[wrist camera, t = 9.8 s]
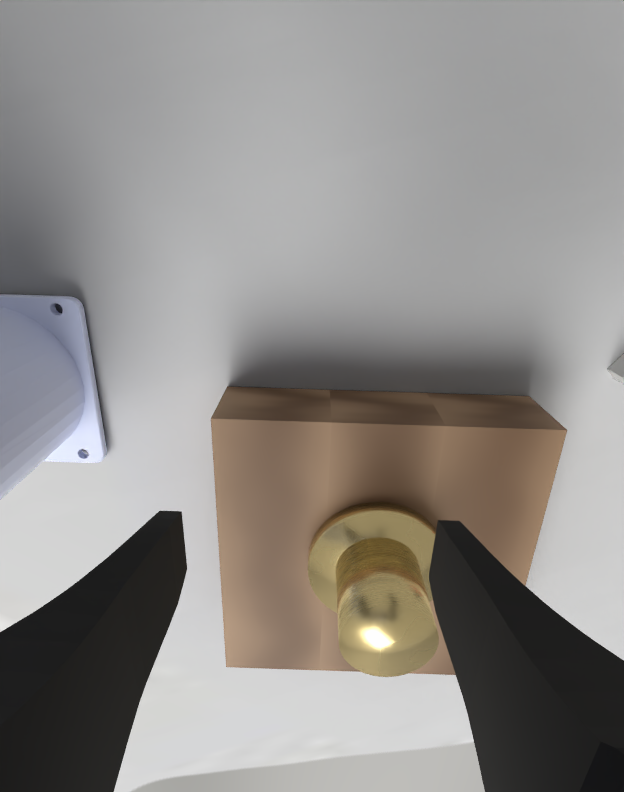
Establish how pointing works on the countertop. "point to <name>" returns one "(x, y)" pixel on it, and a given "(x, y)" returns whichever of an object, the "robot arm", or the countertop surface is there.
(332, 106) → the countertop surface
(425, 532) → the pin
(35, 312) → the robot arm
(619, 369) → the pliers
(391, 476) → the hitch block
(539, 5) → the countertop surface
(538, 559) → the countertop surface
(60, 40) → the countertop surface
